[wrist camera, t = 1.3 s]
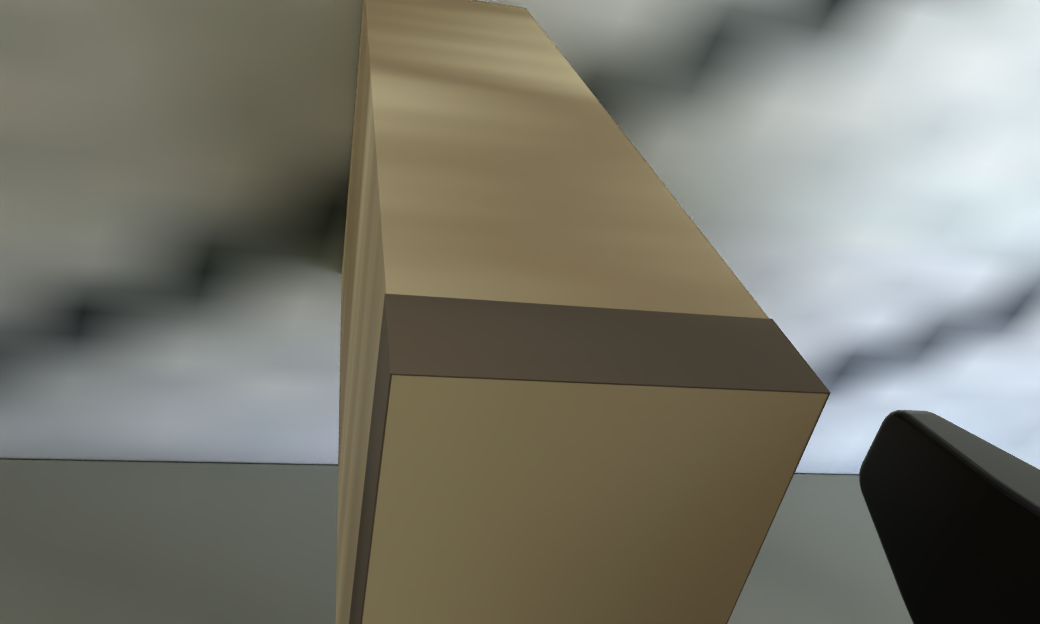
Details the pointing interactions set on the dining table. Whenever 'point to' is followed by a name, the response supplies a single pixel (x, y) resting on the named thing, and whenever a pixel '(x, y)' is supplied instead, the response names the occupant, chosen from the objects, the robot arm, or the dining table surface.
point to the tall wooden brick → (539, 352)
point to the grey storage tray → (332, 547)
